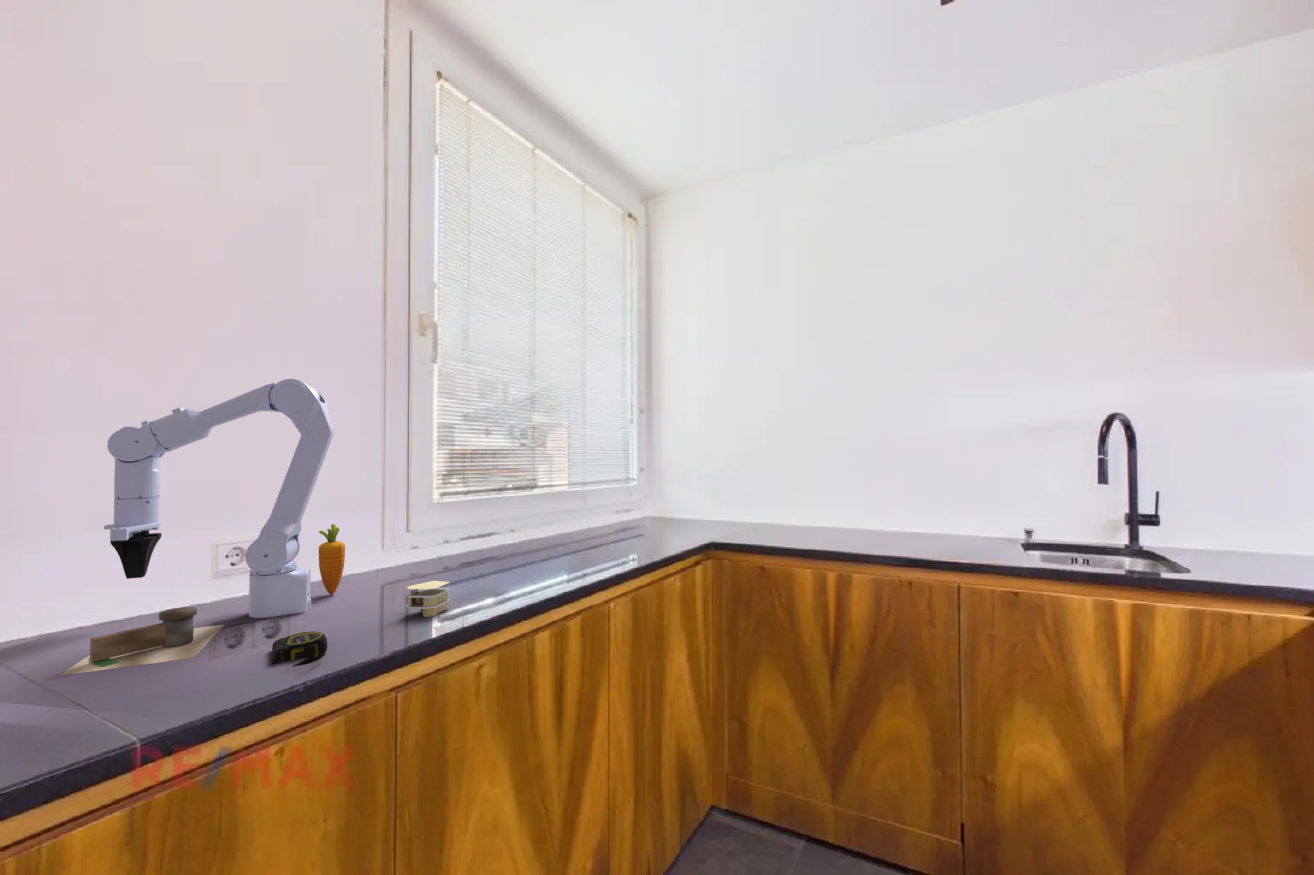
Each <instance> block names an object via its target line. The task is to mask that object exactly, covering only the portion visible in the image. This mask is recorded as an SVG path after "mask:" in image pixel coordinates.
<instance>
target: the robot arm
mask: <svg viewBox="0 0 1314 875" xmlns="http://www.w3.org/2000/svg"><path fill="white" fill-rule="evenodd" d="M259 412H273V413H274V412H275V413H282V414H283V415H285V416H286V418H288V419H290V421H291V422H292V424H293V425H294V427H295V428H296V429H297V431H298V432H299V434H300V438H299V440H298V443H297V446H296V448H295V451H294V453H293V456H292V459H291V461H290V463H289V467H288V469H287V472H286V473H285V474H286V475H285V477H284V479H283V482H282V485H281V488H280V490H279V492H278V495H277V498H276V500H275V503H274V505H273V509H272V510H271V514H270V516H269V518H268V519H267V520H266V522H265V524H264V525H263V527H262V528H261V530H260V532H259V535H258V537H256V539H255V540H254V541H253V542H252V543H251V544H250V545H249V546H248V547H247V549H246V552H245V557H244V558H245V562H246V565H247V566H248V568H249V569H250V570H249V571H248V572H249V576H248V577H249V578H248V579H249V580H248V581H249V584H248V586H249V587H248V616H249V617H250V618H255V619H258V618H259V619H262V618H264V619H265V618H274V617H279V616H286V615H293V614H295V615H296V614H302V613H307V611H308V610H311V607H312V598H311V591H312V590H311V589H312V588H311V582H312V580H311V578H312V577H311V569H310V568H298V564H297V563H296V561H295V560H294V559H295V558H296V557H297V556H298V554H299V552H300V546H301V545H300V541H299V540H300V538H299V537H300V533H301V531H302V519H303V516H304V513H305V512H306V509H307V507H308V504H309V501H310V499H311V495H312V493H313V490H314V487H315V485H316V483H317V480H318V476H319V474H320V471H321V470H322V469H321V468H322V466H323V464H324V461H325V459H326V455H327V452H328V450H329V448H330V446H331V443H332V440H333V437H334V435H335V434H334V433H335V431H334V430H335V429H334V427H333V422H332V421H331V417H330V412H329V409H328V402H327V400H326V399H325V398H324V396H323V395H322V393H320V392H319V390H318V389H317V388H316V387H314V386H312V385H310V384H306V383H305V382H304V381H301V380H299V379H295V378H285V379H283V380H280V381H278V382H277V383H275V382H274V383H267V384H264V385H262V386H260V387H257V388H255V389H252V390H250V391H247V392H245V393H243V394H240V395H238V396H235V397H233V398H231V399H227V400H226V401H223V402H221V403H218V404H215V405H212V406H211V407H208V408H206V409H204V410H198V409H194V408H190V407H188V408H182V407H177V408H174V409H172V410H171V413H172V414H169V415H166V416H164V417H160V418H157V419H155V420H152V421H151V420H149V419H148V420H147V419H146V420H144V421H142V422H140V423H141V426H140V427H135V426H124V427H122V428H120V429H118V430H116V431H114V433H112V434H111V435H110V437H109V438H108V440H107V450H108V452H109V454H110V455H111V456H112V457H113V458H114V480H113V482H114V485H113V487H114V488H113V523H109V524H105V525H104V526H103V530H109V531H110V535H109V536H110V537H109V543H110V545H111V546H112V547H113V548H114V550H115V552H116V553H117V555H118V557H119V559H120V563H121V565H122V569H123V572H124V575H125V577H126V579H127V580H128V579H140V578H144V577H145V576H146V574H147V572H148V569H149V566H150V562H151V559H152V555H153V553H154V550H155V548H156V546H157V544H158V543H159V542H160V539H161V538H162V532H153V533H150V532H151V531H157V530H160V529H161V528H160V527H162V526H161V522H162V521H161V520H160V487H161V486H160V484H161V482H160V481H161V479H160V478H161V476H160V475H161V470H160V468H161V465H160V464H161V463H160V462H161V458H162V457H163V456H164V455H165V454H166V453H169V452H172V451H175V450H177V449H180V448H181V447H184V446H188V445H190V444H193V443H195V442H198V441H201V440H204V439H206V438H207V437H209V435H210V433H211V431H212V429H213V428H214V427H217V426H220V425H224V424H226V423H229V422H231V421H232V422H233V421H235V420H238V419H240V418H243V417H246V416H249V415H253V414H256V413H259Z"/></svg>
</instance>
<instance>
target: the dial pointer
mask: <svg viewBox="0 0 1314 875" xmlns="http://www.w3.org/2000/svg"><path fill="white" fill-rule="evenodd" d="M197 614H198V607H196V606H184V607H183V606H182V607H175V608H169V609H166V610H162V611H160V612H159V613H158V620H159V621H162V622H161V623H156V624H150V625H146V626H141V627H137V628H131V629H127V630H126V629H125V630H123V631H122V630H121V631H118V632H112V633H108V634H103V635H98V636H93V637H90V643H89V644H90V645H89V646H90V647H89V648H90V649H89V655H90V660H92V661H93V662H94V661H98V660H102V659H106V658H111V657H115V656H119V655H123V654H128V653H132V652H136V651H140V650H145V649H149V648H153V647H157V646H165V647H170V646H178V645H183V644H186V643H189V642H191V641H193V628H194V616H196V615H197Z"/></svg>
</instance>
